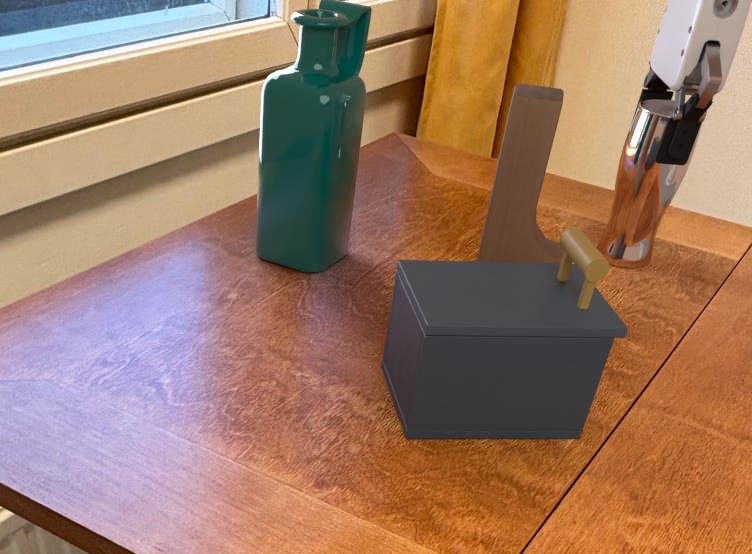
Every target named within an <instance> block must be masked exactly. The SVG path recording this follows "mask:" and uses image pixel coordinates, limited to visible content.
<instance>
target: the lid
mask: <svg viewBox="0 0 752 554" xmlns="http://www.w3.org/2000/svg"><path fill="white" fill-rule="evenodd" d="M559 243H560V245H561V247H562V248H563V249H564V254H563V257H562V261H561V264H560V263H517V262H476V261H475V260H473V261H471V260H429V259H428V260H427V259H426V260H425V259H397V264H396V271H398V273H399V275H400V277H401V280H402V282H403V284H404V287H405V289H406V291H407V293H408V296H409V298H410V300H411V303H412V305H413V307H414V309H415V312H416V314H417V316H418V318H419V321H420V323H421V325H422V328H423V330H424V332H425V334H426V335H456V336H525V337H594V338H614V339H625V338H626V336H627V333H628V330H629V328H628V326H627V325H626V324H625V322H624V321H623V320H622V319H621V317H620V316H619V314H617V312H616V311H615V309H613V307H612V306H611V304H610V303H609V302H608V301H607V300H606V298H605V297H604V295H603V294H602V293H601V291H599V289H598V288H597V287H596V286H597V282H600V281H601V280H603V279H604V278H606V276H607V275H608V273H609V271H610V264H609V263H608V261H607V260H606V259H605V257H604V256H603V255H602V254H601V253H600V251H599V250H598V249H597V246H596V245H595V244H594V243H593V242H592V240H590V238H589V237H588V236H587V235H586V234H585V232H584V231H583V230H582V229H581V228H580V227H578V226H570V227H567V228H566V229H565V230H564V231H563V232H562V233H561V235H560V237H559Z"/></svg>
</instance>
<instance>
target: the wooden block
mask: <svg viewBox="0 0 752 554" xmlns="http://www.w3.org/2000/svg"><path fill="white" fill-rule="evenodd" d="M564 93H565V92H564V90H563V89H562V88H559V87H558V88H557V87H551V86H542V85H534V84H527V83H517V84H515V86H514V87H513V92H512V95H511V98H510V103H509V108H508V113H507V116H506V117H507V118H506V122H505V127H504V132H503V137H502V141H501V146H500V150H499V154H498V160H497V165H496V169H495V173H494V177H493V182H492V187H491V192H490V196H489V200H488V205H487V210H486V215H485V220H484V224H483V229H482V233H481V238H480V243H479V248H478V251H477V255H476V260H475V262H517V263H560V264H561V261H562V257H563V254H564V249H563V248H562V247H561V245H560V242H557V241H555V240H552V239H550V238H547V237H546V236H545V234H544V232H543V231H542V230H541V228H540V226H539V225H538V223H537V209H538V204H539V199H540V195H541V192H542V187H543V184H544V180H545V175H546V172H547V167H548V165H549V164H548V163H549V160H550V156H551V151H552V148H553V144H554V141H555V136H556V133H557V129H558V124H559V121H560V117H561V113H562V109H563V105H564V97H565V94H564Z"/></svg>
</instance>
